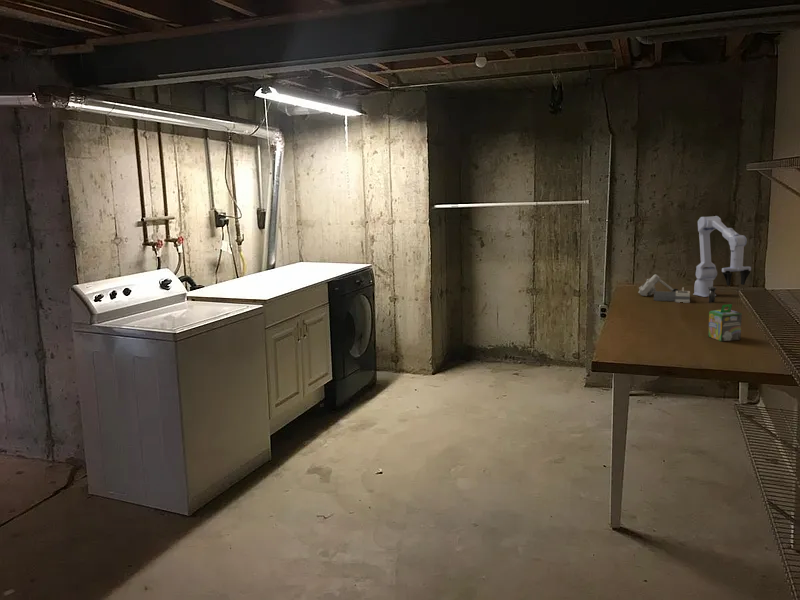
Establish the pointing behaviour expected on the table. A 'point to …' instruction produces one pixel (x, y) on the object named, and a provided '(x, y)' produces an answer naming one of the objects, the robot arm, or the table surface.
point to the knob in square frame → (672, 296)
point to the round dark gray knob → (712, 294)
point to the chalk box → (725, 324)
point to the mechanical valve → (652, 286)
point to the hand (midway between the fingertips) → (735, 285)
